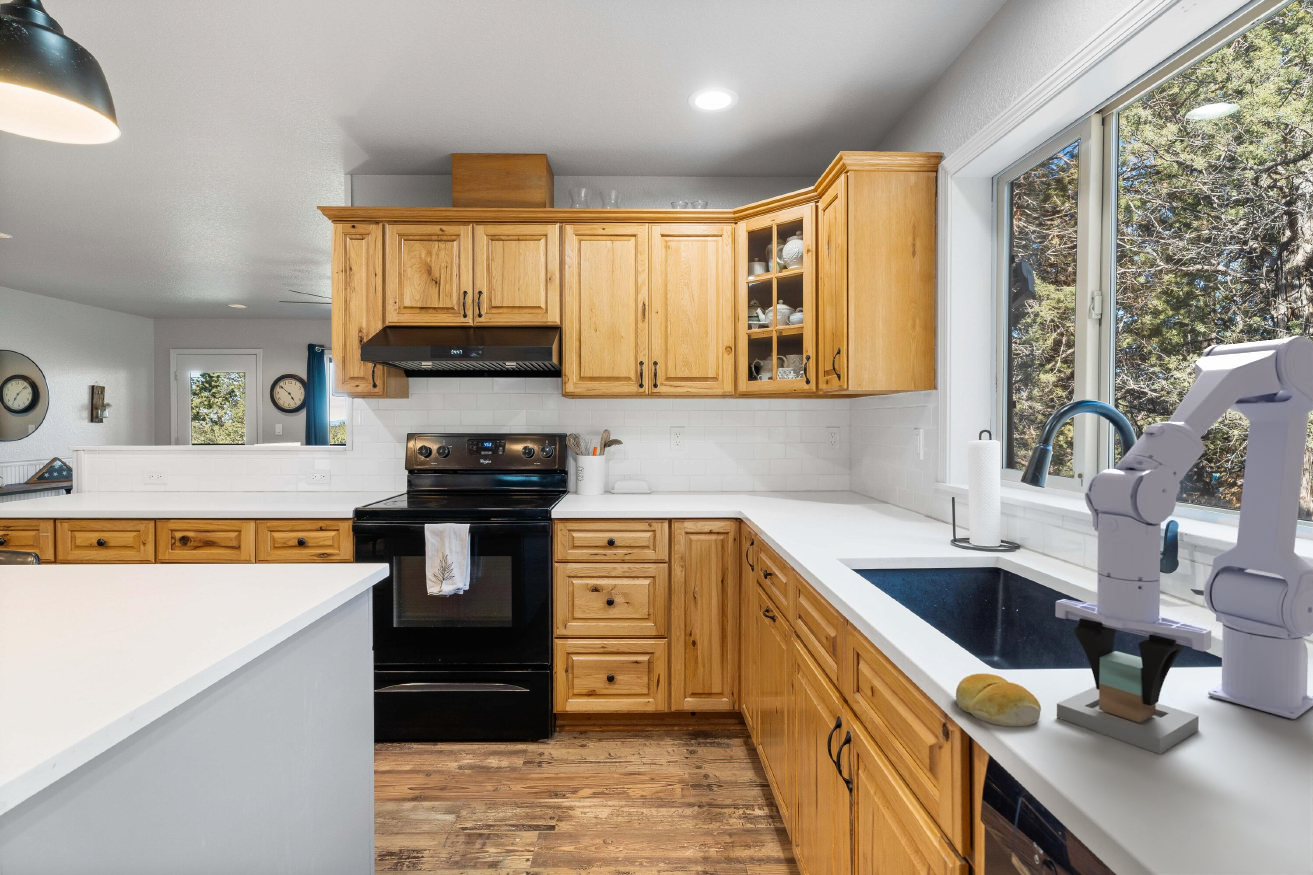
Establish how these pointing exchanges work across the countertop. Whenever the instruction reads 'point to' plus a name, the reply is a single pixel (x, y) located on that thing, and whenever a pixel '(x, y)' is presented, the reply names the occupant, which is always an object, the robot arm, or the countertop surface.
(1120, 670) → the brick stack
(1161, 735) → the base plate
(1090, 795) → the countertop surface
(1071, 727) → the countertop surface
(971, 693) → the bread roll
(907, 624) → the countertop surface
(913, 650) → the countertop surface
